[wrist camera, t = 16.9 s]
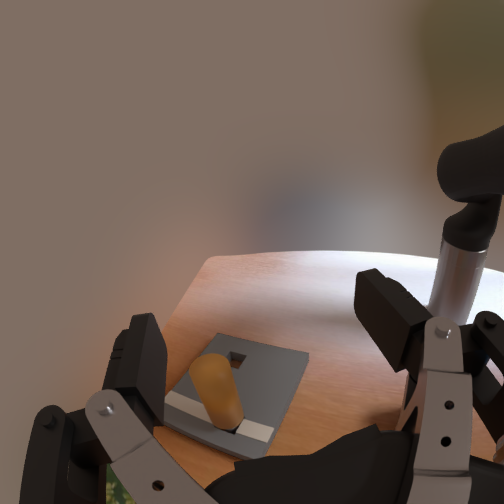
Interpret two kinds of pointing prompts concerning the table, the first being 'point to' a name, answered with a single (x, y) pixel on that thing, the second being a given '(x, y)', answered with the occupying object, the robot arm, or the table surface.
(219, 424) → the orange and grey cylinder
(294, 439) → the table surface
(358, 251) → the table surface
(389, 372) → the table surface
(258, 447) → the board
